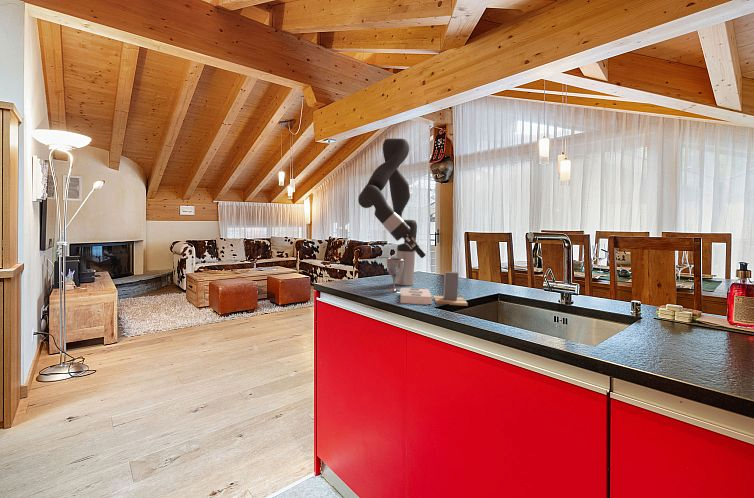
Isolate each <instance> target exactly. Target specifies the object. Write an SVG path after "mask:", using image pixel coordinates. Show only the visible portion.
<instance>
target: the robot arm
mask: <svg viewBox="0 0 754 498" xmlns="http://www.w3.org/2000/svg"><path fill="white" fill-rule="evenodd" d="M409 152H410V145H409V141H408V140H407V139H406V138H385V139H384V141H383V143H382V154H383V158H384V162H383V163H382V164H380V165H379V166H377V168H376V169H375V170H374V171H373V173H372V174H371V176H370V178H369V180H368V182H367V183H366V185H365V186H364V187H363V189H362V191H361V192H360V193H359V195H358V197H357V198H358V199H357V202H358V204H359V206H361V207H362V208H364V209H369V208H372V207H373V208H374V213H373V214H374V216H375V218H376V219H377V220H378V221H379V222H380V223H381V224H382V225H383V226H384V228H385V230H386V231H388V233H390V235H391V236H392V237H393V238H394V239H395V240H396V241H399V240H401V239H403V243H401V244H398V245H397V247H396V258H401V259H404V267H403V270H402V272H401V273H400V274H399V275H398V277H397V278H396V282H395V285H399V286H414V283H415V282H414V279H415V261H416V260H415V259H416V254H417V255H418V256H419V257H420V258H421V259H424V258H425V257H426V256H427V255H426V253H425V252H424V251H423V250H422V248H420V245H418V241H417V232H418V223H417V221H416V220H414V219H403V217H402V216H403V215H402V214H403V212H404V210H405V208H406V206H407V205H408V203H409V201H410V198H411V192H410V186H409V185H410V184H409V181H408V180H407V179H406V177H405V176H404V175H403V173H402V172H401V170H400V169H399V167H400V166H401V164H403V162H404V161H405V160H406V159H407V157H408V156H409ZM387 183H389V193H390V196H391V197H390V198H391V204H392V208H391V206H390V205H389V204H388V202H387V200H386V198H385V196H384V195H383V193H382V190H383V189H384V188H385V187H386V185H387Z"/></svg>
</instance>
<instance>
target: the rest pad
mask: <svg viewBox="0 0 754 498" xmlns="http://www.w3.org/2000/svg"><path fill="white" fill-rule="evenodd" d="M433 300H434V302H435V304H436V305H443V304H449V305H448V306H467V307H468V306H469V305H468V302H467V301H466V299H464V297H463V296H457V301H455V300H444V299H443V295H433Z"/></svg>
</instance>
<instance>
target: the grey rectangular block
mask: <svg viewBox="0 0 754 498" xmlns="http://www.w3.org/2000/svg"><path fill="white" fill-rule="evenodd" d="M443 275H444V277H443V294H442V296H443V299H444V300H455V301H457V297H458V287H459V286H458V285H459V283H458V282H459V272H457V271H444V274H443Z"/></svg>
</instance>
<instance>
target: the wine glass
mask: <svg viewBox="0 0 754 498" xmlns="http://www.w3.org/2000/svg"><path fill="white" fill-rule="evenodd" d="M403 267H404V259H401V258H397V257H387V258H386V269H387V272H388V273H389V274H390V276H391V277H392V283H393V285H392V286H393V288H392V289H387V290H386V292H387V293H392V294H401V290H398V289H396V278H397V277H398V275H399V274H400V273H401V272H402V270H403Z"/></svg>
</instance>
